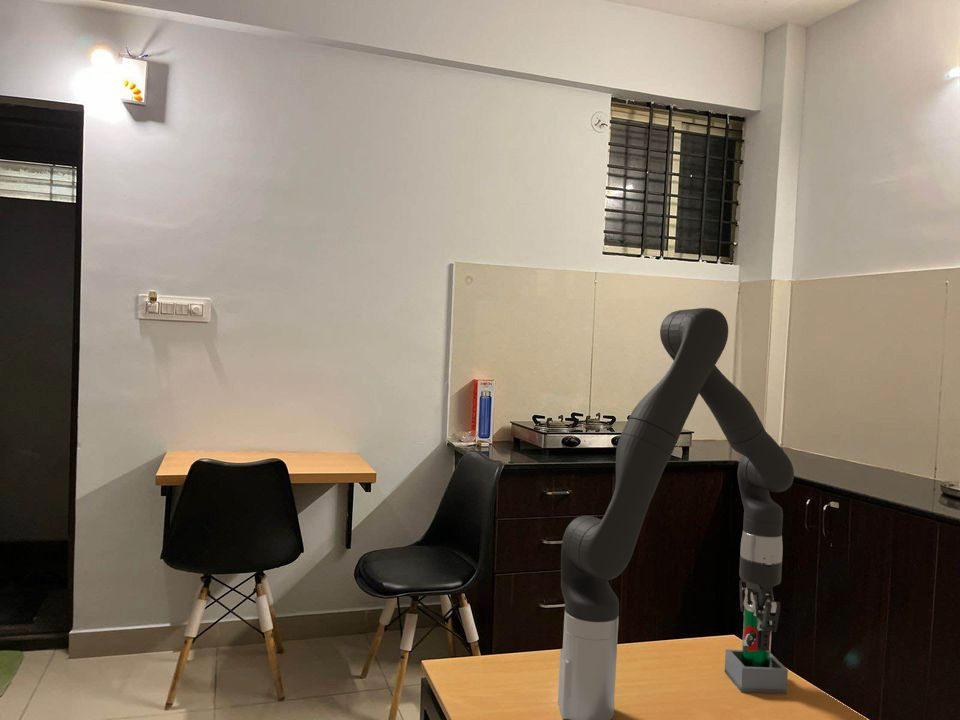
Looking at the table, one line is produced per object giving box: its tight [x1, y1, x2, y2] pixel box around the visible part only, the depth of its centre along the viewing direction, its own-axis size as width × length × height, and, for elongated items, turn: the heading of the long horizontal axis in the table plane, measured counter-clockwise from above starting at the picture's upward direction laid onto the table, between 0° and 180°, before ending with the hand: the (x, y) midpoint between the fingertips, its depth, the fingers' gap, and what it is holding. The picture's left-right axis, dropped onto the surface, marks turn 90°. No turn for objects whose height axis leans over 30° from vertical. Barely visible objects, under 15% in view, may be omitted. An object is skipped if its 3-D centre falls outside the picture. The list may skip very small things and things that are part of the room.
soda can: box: [741, 602, 772, 667], centre depth 140 cm, size 5×5×12 cm
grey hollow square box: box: [724, 648, 789, 695], centre depth 140 cm, size 9×9×4 cm
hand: (756, 643), depth 140 cm, fingers closed on soda can, 5 cm apart
